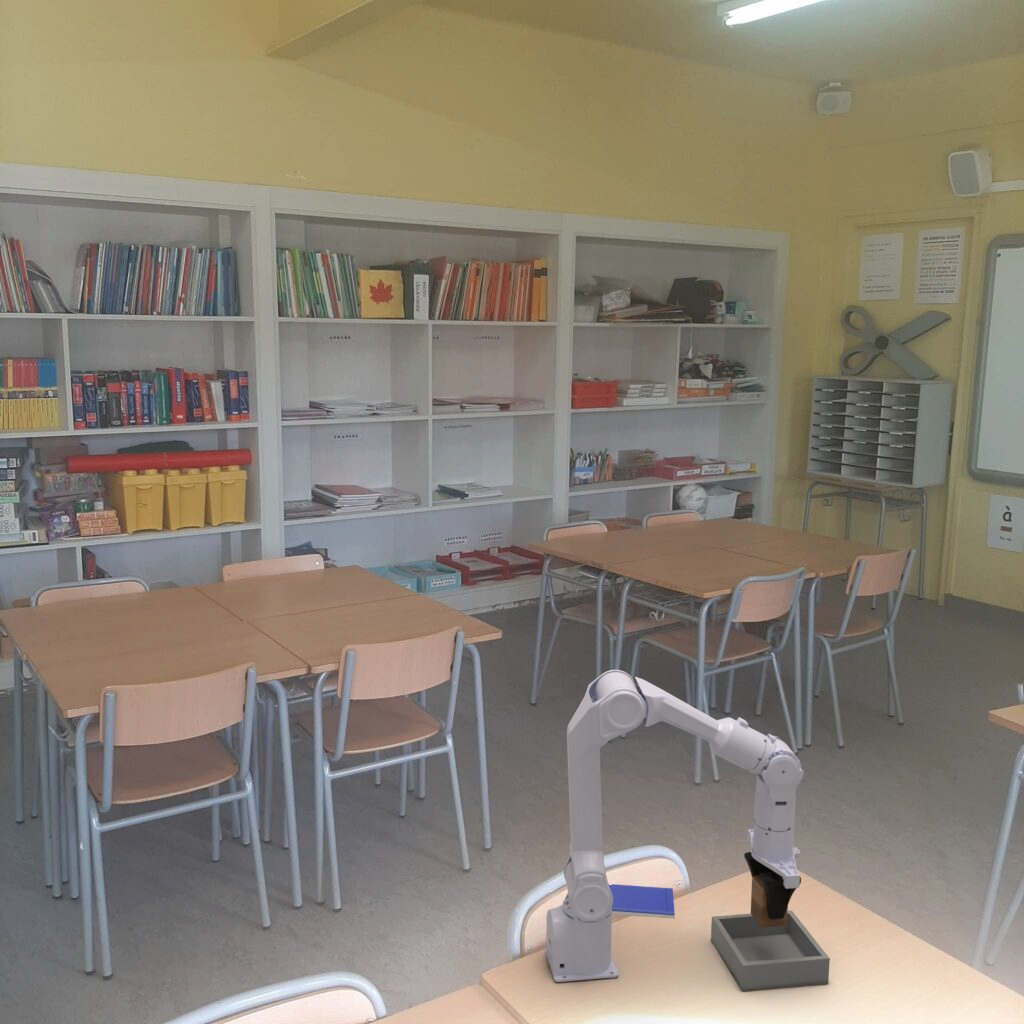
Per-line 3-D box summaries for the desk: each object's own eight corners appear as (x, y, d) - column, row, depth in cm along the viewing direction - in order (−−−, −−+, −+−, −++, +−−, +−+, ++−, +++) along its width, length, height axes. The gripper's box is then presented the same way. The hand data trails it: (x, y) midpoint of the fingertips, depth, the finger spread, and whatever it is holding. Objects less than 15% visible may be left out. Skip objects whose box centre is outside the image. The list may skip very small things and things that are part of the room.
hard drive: (597, 907, 164) (674, 912, 163) (598, 881, 172) (672, 886, 171) (597, 916, 165) (674, 921, 163) (598, 890, 173) (672, 895, 171)
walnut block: (760, 927, 148) (762, 889, 147) (750, 913, 152) (752, 875, 151) (786, 925, 149) (788, 887, 148) (775, 911, 153) (777, 873, 152)
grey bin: (742, 991, 144) (743, 965, 144) (710, 940, 157) (711, 916, 156) (828, 984, 146) (829, 958, 146) (790, 934, 159) (791, 910, 158)
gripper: (822, 844, 142) (817, 934, 144) (779, 800, 156) (775, 882, 158) (774, 847, 141) (769, 938, 143) (736, 802, 155) (732, 886, 157)
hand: (769, 909), depth 150 cm, fingers closed on walnut block, 4 cm apart
